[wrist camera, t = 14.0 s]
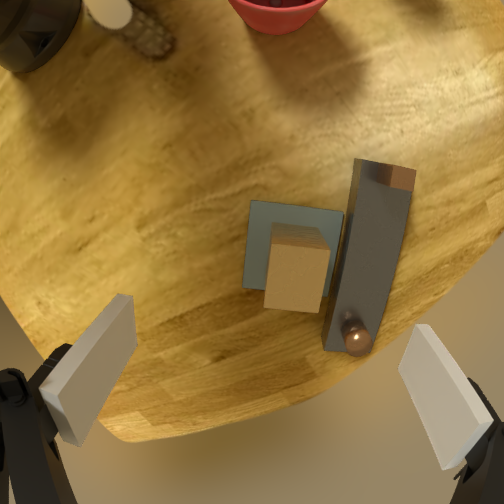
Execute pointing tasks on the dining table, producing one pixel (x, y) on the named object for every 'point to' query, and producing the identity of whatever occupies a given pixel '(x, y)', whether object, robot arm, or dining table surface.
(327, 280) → the mat
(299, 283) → the tan wooden block
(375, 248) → the plane body
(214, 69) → the dining table surface
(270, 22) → the flower pot
